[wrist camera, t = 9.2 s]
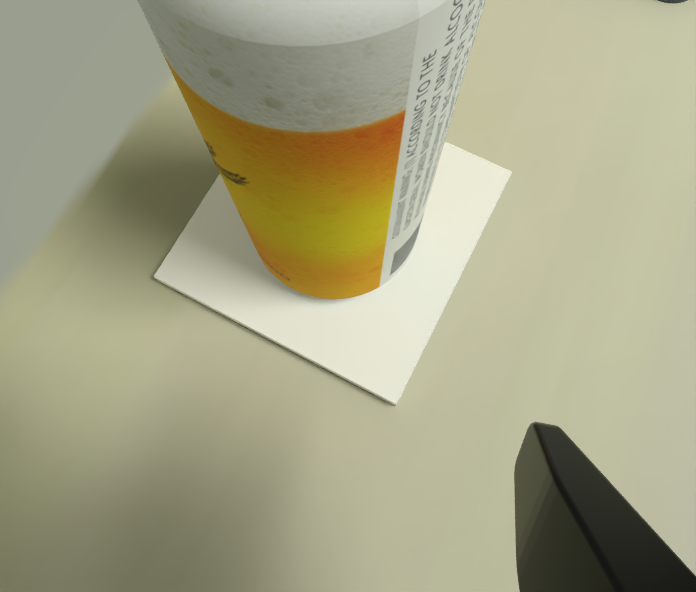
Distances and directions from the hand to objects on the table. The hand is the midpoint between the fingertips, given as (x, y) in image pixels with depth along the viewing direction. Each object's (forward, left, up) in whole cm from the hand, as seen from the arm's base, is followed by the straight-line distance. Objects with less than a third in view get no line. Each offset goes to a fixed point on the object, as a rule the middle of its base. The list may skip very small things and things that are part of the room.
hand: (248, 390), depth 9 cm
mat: (+5, +6, -12) cm, 14 cm away
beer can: (+5, +6, -11) cm, 13 cm away
